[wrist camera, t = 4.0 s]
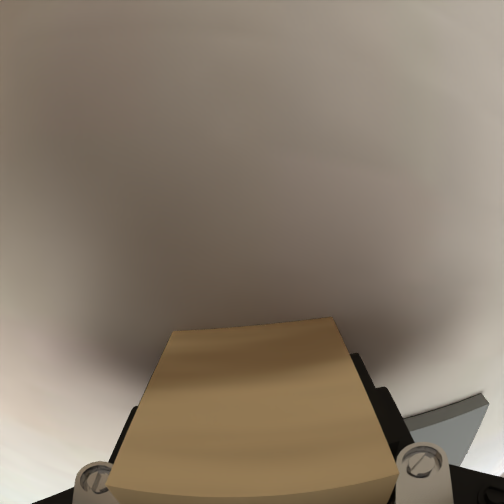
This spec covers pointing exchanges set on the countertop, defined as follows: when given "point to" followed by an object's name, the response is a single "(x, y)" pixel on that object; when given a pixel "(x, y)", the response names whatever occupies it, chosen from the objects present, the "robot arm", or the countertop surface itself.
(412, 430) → the slate mat
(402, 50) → the countertop surface
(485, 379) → the countertop surface
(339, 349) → the oak cube
